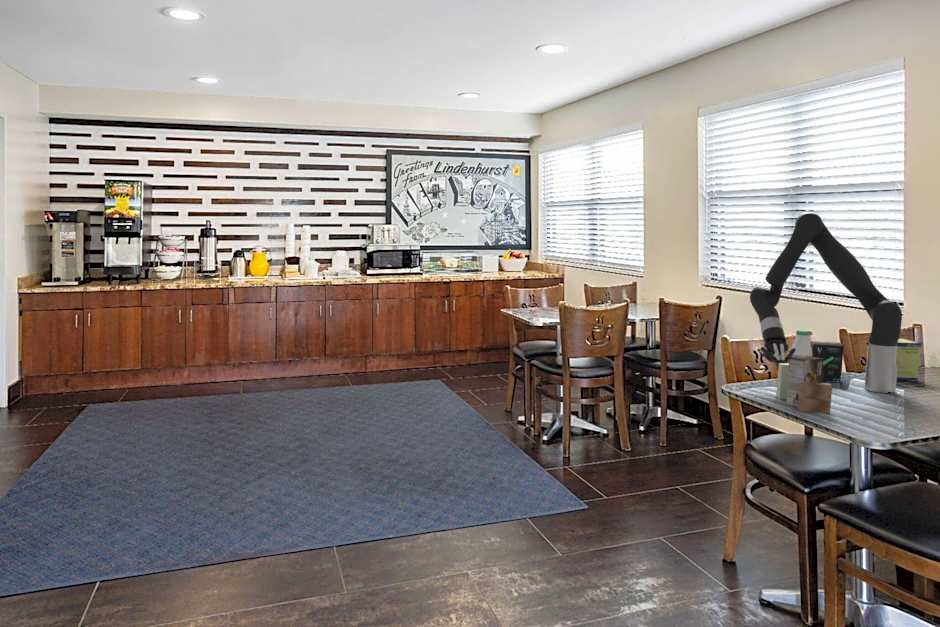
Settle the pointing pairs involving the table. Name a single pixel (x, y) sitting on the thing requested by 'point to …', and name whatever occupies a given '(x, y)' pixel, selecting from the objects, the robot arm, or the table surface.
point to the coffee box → (802, 375)
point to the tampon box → (829, 359)
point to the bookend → (782, 380)
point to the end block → (814, 397)
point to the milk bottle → (802, 344)
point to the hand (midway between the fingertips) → (782, 370)
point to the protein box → (907, 359)
